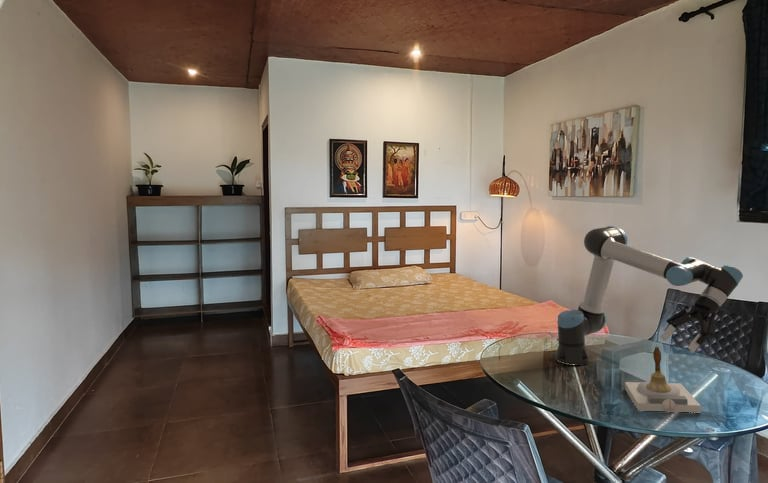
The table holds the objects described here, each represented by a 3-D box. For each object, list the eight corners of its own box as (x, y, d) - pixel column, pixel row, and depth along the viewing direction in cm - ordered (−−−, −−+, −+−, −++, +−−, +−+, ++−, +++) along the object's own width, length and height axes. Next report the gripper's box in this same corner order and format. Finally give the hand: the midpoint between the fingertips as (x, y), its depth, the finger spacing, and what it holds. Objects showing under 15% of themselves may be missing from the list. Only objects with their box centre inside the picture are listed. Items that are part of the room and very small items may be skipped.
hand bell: (665, 394, 176) (664, 352, 175) (642, 388, 183) (640, 347, 181) (675, 388, 181) (674, 346, 180) (652, 382, 188) (651, 342, 186)
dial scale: (638, 411, 173) (637, 398, 172) (625, 389, 193) (624, 377, 192) (701, 414, 168) (700, 400, 167) (681, 390, 187) (680, 378, 187)
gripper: (746, 314, 171) (710, 360, 170) (690, 300, 195) (658, 341, 194) (733, 301, 170) (696, 348, 168) (678, 289, 194) (646, 330, 193)
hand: (676, 344), depth 181 cm, fingers open, 13 cm apart
